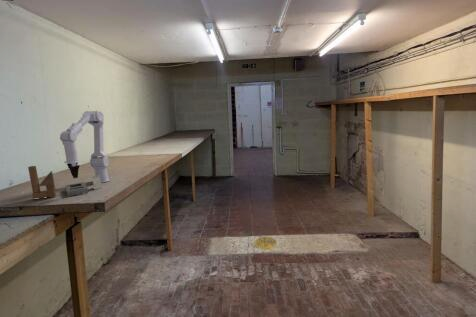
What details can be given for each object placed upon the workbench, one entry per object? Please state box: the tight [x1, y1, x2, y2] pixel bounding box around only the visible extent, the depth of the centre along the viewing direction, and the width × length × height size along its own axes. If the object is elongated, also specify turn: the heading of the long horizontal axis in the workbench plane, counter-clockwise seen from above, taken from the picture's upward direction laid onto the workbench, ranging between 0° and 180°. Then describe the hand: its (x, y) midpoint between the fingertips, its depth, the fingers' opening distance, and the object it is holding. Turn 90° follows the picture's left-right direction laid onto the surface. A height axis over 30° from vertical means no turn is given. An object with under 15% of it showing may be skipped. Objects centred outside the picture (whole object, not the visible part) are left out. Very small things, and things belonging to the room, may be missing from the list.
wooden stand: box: [27, 165, 57, 200], centre depth 181 cm, size 4×11×18 cm, turn 107°
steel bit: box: [91, 175, 102, 190], centre depth 196 cm, size 4×4×7 cm
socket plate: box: [65, 181, 89, 197], centre depth 191 cm, size 16×10×3 cm, turn 31°
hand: (74, 176), depth 187 cm, fingers open, 7 cm apart
